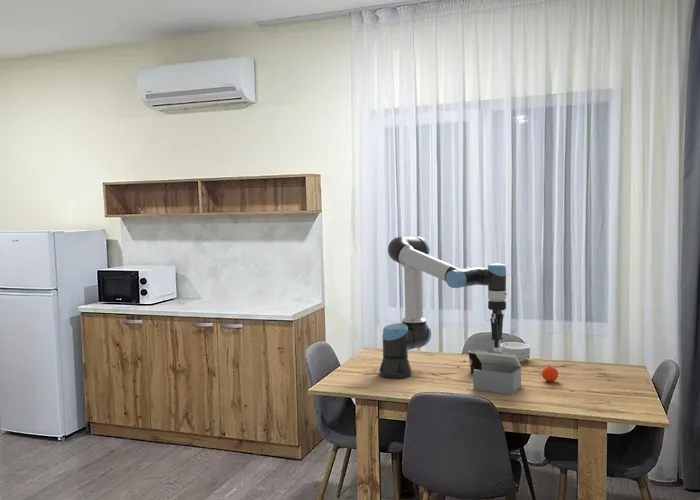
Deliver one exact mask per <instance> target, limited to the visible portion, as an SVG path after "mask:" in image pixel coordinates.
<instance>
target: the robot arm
mask: <svg viewBox="0 0 700 500" xmlns="http://www.w3.org/2000/svg"><path fill="white" fill-rule="evenodd" d="M430 251H431V250H430V245H429V242H428V241H427V240H426V239H425V238H424V237H422V236H417V235H411V236H398V237H395V238H393V239H392V240H391V241H390V242H389V244H388V246H387V253H388V256H389V258H391V260H393V261H394V262H395V263H398V264H400V265H401V266H402V267H403V275H404V277H403V278H404V279H403V280H404V282H403V283H404V285H403V286H404V318H402V320H401V323H400V322H399V323H398V322H397V323H391V324H387V325H385V326H384V327H383V329H382V335H381V337H382V360H381V364H380V367H379V372H378V373H379V376H380V377H382V378H386V379H405V378H410V377H412V367H411V365H410V361H409V351H411V350H414V349H419V348H422V347H425V346H427V344H429V343H430V340H431V338H432V330H431V327H430V325H428V323H427V319H426V318H425V317H424V308H423V306H424V305H423V300H424V299H423V272H424V273H426V274H429V276H432V277H435V278H437V279H439V280H440V281H444V282H446V284H447V285H448V286H449V287H450V288H452V289H460V288H465V287H471V286H472V287H473V286H487V294H488V295H487V300H488V301H487V309H488V310H490V311H492V313H491V315H490V318H489V321H490V327H491V328H490V329H491V341H493V342H492V343H493V347H492V348H493V351H494V352H501V343H502V342H501V340H503V325H504V313H503V311H505V310H507V301H506V300H507V296H508V293H507V266H506V264H503V263H490V264H488V266H487V267H476V266H468V267H466V268H459V267H456V266H454V265H452V264H450V263H448V262H445V261H443V260H440V259H438V258H435V257H433V256H431V255H430Z"/></svg>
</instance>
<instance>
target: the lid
mask: <svg viewBox="0 0 700 500" xmlns="http://www.w3.org/2000/svg"><path fill="white" fill-rule="evenodd" d="M475 354H476V356H477V357H478V359H479V360H480V361H481V363H489V364H498V365H507V366H517V367H520V366H521V367H522V364H521V362H519V361H518V359H517V357H516V355H509V354H503V352H494V351H492V350H488V351H487V352H478V351H475Z"/></svg>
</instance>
